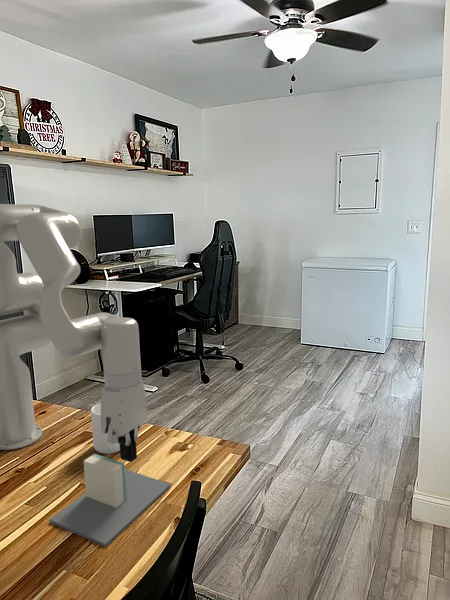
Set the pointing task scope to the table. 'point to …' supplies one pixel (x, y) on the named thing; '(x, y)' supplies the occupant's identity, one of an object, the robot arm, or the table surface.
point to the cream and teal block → (105, 480)
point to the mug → (98, 436)
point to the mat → (110, 510)
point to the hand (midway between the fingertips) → (128, 458)
